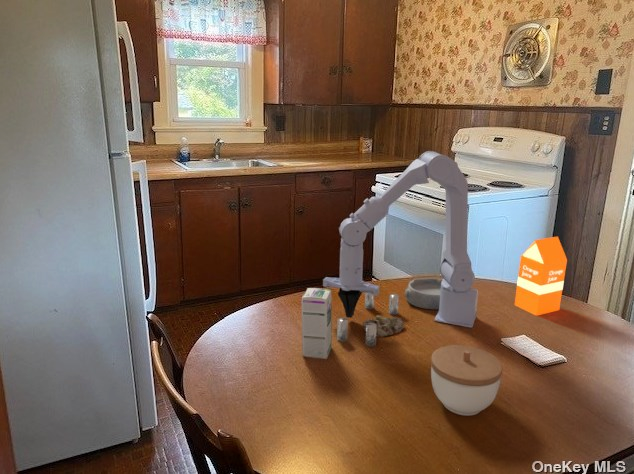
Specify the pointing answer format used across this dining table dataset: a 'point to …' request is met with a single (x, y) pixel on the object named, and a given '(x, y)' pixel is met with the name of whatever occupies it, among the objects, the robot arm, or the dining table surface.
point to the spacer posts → (370, 327)
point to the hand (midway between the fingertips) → (349, 315)
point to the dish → (424, 292)
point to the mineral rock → (385, 325)
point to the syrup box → (316, 323)
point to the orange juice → (541, 277)
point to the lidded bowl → (465, 378)
